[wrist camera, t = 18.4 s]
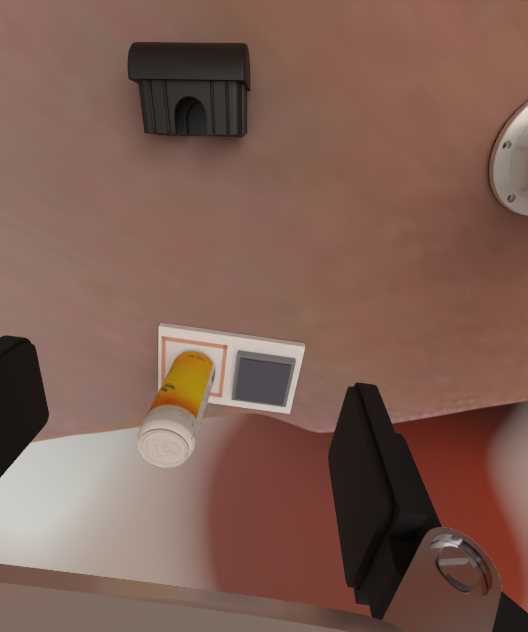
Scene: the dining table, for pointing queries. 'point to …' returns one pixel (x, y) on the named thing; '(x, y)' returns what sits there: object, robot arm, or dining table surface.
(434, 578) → the robot arm
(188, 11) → the dining table surface
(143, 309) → the dining table surface
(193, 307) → the dining table surface
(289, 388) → the stamping board
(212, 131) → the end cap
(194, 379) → the beer can
